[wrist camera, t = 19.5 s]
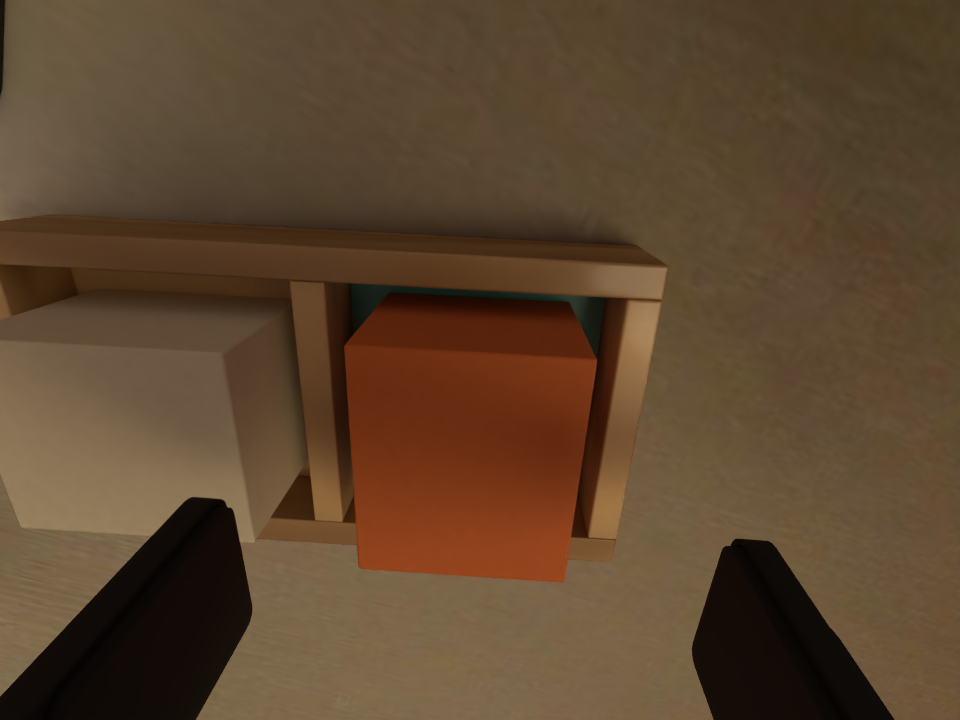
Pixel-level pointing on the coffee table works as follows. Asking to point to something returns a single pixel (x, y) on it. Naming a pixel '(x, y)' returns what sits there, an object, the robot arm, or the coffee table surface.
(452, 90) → the coffee table surface
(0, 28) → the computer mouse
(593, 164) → the coffee table surface
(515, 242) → the holder
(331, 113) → the coffee table surface
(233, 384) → the beige block
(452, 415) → the orange block
